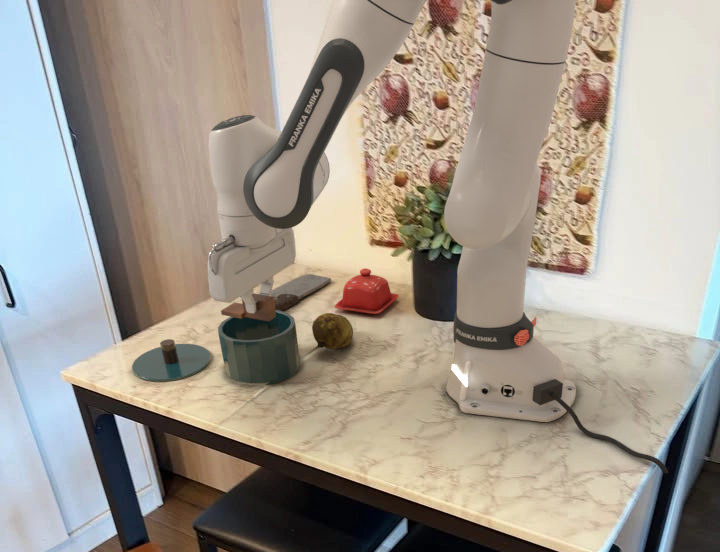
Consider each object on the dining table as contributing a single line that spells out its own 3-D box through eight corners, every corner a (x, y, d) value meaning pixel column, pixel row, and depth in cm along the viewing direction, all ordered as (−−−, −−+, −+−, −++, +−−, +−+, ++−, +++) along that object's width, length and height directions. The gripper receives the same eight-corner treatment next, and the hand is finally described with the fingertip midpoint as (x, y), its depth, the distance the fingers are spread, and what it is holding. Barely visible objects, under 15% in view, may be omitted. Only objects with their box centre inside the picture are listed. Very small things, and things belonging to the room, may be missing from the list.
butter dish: (356, 293, 174) (353, 257, 169) (401, 300, 170) (400, 263, 165) (332, 312, 166) (328, 275, 161) (379, 320, 162) (377, 282, 157)
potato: (369, 337, 155) (367, 300, 150) (336, 364, 146) (333, 325, 142) (335, 330, 159) (332, 294, 154) (301, 356, 150) (296, 318, 145)
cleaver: (258, 327, 162) (257, 318, 160) (223, 319, 166) (222, 310, 165) (335, 281, 181) (334, 273, 180) (302, 275, 186) (301, 267, 185)
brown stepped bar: (279, 314, 131) (276, 294, 129) (266, 323, 128) (263, 303, 126) (235, 306, 135) (231, 287, 133) (221, 314, 132) (218, 295, 130)
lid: (227, 356, 152) (222, 333, 149) (176, 390, 141) (170, 366, 138) (169, 343, 159) (164, 320, 156) (116, 375, 148) (110, 351, 145)
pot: (314, 358, 149) (309, 315, 143) (271, 392, 139) (265, 347, 133) (255, 346, 155) (248, 304, 150) (210, 377, 145) (201, 334, 140)
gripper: (224, 250, 113) (238, 334, 121) (298, 210, 127) (306, 288, 136) (191, 245, 116) (207, 328, 124) (267, 207, 130) (277, 284, 138)
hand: (259, 307), depth 130 cm, fingers closed on brown stepped bar, 2 cm apart
